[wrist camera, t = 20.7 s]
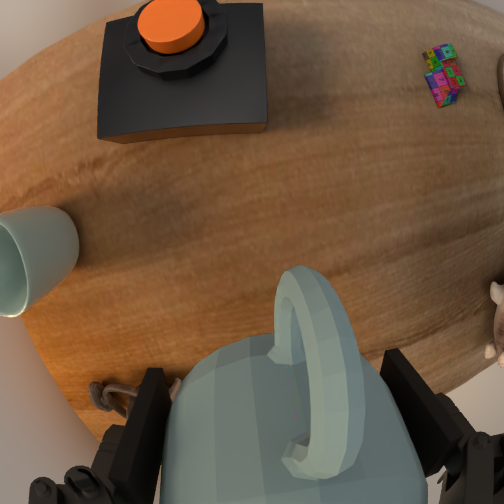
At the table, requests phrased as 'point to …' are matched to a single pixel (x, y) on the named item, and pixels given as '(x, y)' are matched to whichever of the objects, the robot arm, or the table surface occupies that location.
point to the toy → (497, 325)
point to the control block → (185, 79)
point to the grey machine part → (107, 402)
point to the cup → (34, 255)
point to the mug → (290, 416)
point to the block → (443, 74)
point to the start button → (171, 25)
